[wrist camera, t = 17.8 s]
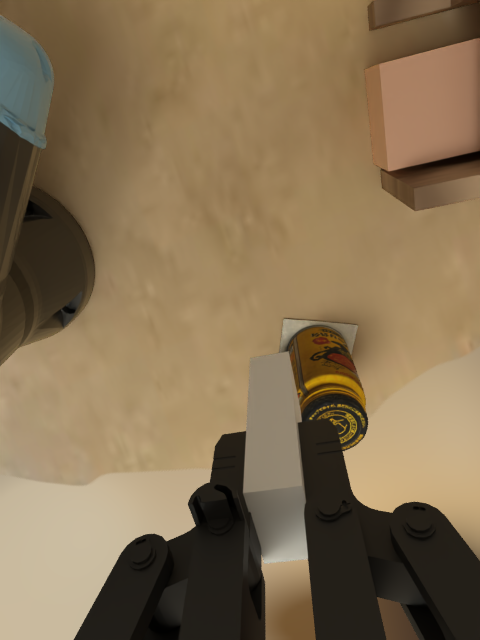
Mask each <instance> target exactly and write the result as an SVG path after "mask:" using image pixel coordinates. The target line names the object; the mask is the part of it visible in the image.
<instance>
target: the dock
mask: <svg viewBox="0 0 480 640" xmlns="http://www.w3.org/2000/svg"><path fill="white" fill-rule="evenodd" d="M478 2H480V0H375V1H373V2H372V3H371V4H370V5H369V6H368V18H369V31H370V30H374V29H378V28H382V27H386V26H390V25H393V24H397V23H401V22H405V21H409V20H413V19H416V18H420V17H424V16H428V15H432V14H436V13H439V12H443V11H447V10H451V9H455V8H459V7H462V6H466V5H470V4H474V3H478ZM381 181H382V188H383V189H384V190H385V191H387V192H388V193H390V194H391V195H393V196H394V197H395V198H397V199H398V200H400V201H401V202H403V203H404V204H406V205H407V206H408V207H410V208H411V209H413V210H414V211H419V210H424V209H429V208H434V207H438V206H443V205H448V204H453V203H458V202H463V201H468V200H473V199H478V198H480V151H476V152H472V153H467V154H463V155H458V156H454V157H450V158H445V159H441V160H436V161H432V162H428V163H423V164H419V165H414V166H410V167H406V168H401V169H397V170H392V171H387V170H385V169H383V170H381Z"/></svg>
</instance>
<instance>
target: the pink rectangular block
mask: <svg viewBox="0 0 480 640" xmlns="http://www.w3.org/2000/svg"><path fill="white" fill-rule="evenodd" d="M364 70H365V80H366V91H367V101H368V111H369V122H370V132H371V143H372V153H373V163H374V164H375V165H377V166H379V167H381V168H383V169H385V170H387V171H392V170H397V169H401V168H406V167H410V166H414V165H419V164H423V163H428V162H432V161H436V160H441V159H445V158H450V157H454V156H458V155H463V154H467V153H472V152H476V151H480V38H476V39H472V40H469V41H465V42H461V43H457V44H453V45H449V46H446V47H442V48H438V49H434V50H430V51H426V52H423V53H419V54H415V55H411V56H407V57H404V58H400V59H396V60H392V61H388V62H384V63H381V64H377V65H375V66H372V67H369V68H367V69H364Z"/></svg>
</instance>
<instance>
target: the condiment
mask: <svg viewBox="0 0 480 640" xmlns="http://www.w3.org/2000/svg"><path fill="white" fill-rule="evenodd" d="M357 328H358V325H352V324H341V323H333V322H321V321H308V320H292V319H284V320H283V328H282V335H281V343H280V350H279V353H282V352H288V351H289V356H290V361H291V366H292V371H293V375H294V380H295V385H296V390H297V395H298V400H299V405H300V410H301V418H302V422H305V421H312V420H319V419H326V418H328V419H329V420H330V421H331V422H332V423H333V424H334V425H335V426H336V427H337V430H338V434H339V438H340V443H341V447H342V451H345V450H347V449H350V448H352V447H354V446H355V445H357V444H358V443H359V442H360V441H361V440H362V439H363V438H364V436H365V434H366V431H367V427H368V418H367V413H366V410H365V405H366V399H365V395H364V391H363V388H362V385H361V382H360V380H359V377H358V374H357V371H356V368H355V366H354V363H353V360H352V357H351V355H352V350H353V346H354V341H355V337H356V332H357Z"/></svg>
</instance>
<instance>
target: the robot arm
mask: <svg viewBox="0 0 480 640" xmlns="http://www.w3.org/2000/svg"><path fill="white" fill-rule="evenodd" d="M53 88H54V72H53V68H52V64H51V62H50V59H49V57H48V55H47V54H46V52H45V50H44V49H43V47H42V46H41V45H40V44H39V43H38V42H37V41H36V40H35V39H34V38H33V37H32V36H31V35H29V34H28V33H27V32H25V31H24V30H23V29H21V28H20V27H18V26H17V25H15V24H14V23H12V22H11V21H9V20H8V19H6V18H5V17H3V16H2V15H0V366H1V365H2V364H3V363H4V362H5V361H6V360H7V359H8V358H9V357H10V356H11V355H12V354H13V353H14V352H15V351H16V350H17V349H18V348H19V347H22V346H25V345H28V344H30V343H33V342H36V341H39V340H42V339H45V338H48V337H50V336H52V335H54V334H56V333H58V332H60V331H61V330H63V329H64V328H65V327H67V326H68V325H69V324H70V323H71V322H72V321H73V320H74V319H75V318H76V317H77V316H78V315H79V313H80V312H81V311H82V310H83V309H84V307H85V306H86V304H87V302H88V300H89V298H90V296H91V293H92V289H93V285H94V262H93V256H92V253H91V249H90V246H89V244H88V241H87V239H86V237H85V235H84V233H83V231H82V230H81V228H80V226H79V225H78V223H77V222H76V221H75V219H74V218H73V217H72V216H71V215H70V213H69V212H68V211H67V210H66V209H65V208H64V207H63V206H62V205H61V204H59V203H58V202H57V201H56V200H55V199H53V198H52V197H50V196H49V195H48V194H46V193H44V192H43V191H41V190H39V189H37V188H35V187H33V186H32V185H33V181H34V177H35V174H36V170H37V166H38V162H39V158H40V154H41V150H42V149H45V148H46V145H47V139H46V137H45V135H44V134H45V129H46V124H47V118H48V113H49V108H50V103H51V98H52V93H53ZM213 459H214V461H213V465H212V472H211V479H210V483H206V484H204V485H203V486H201V487H200V488H198V489H197V490H196V491H195V492H194V493H193V494H192V496H191V498H190V500H189V502H188V506H189V509H190V511H191V514H192V516H193V519H194V522H195V524H196V526H195V527H194V528H193V529H192V530H190V531H189V532H187V533H185V534H183V535H181V536H178V537H176V538H174V539H171V540H169V541H165V540H164V538H163V537H162V536H159V535H156V534H146V535H143V536H141V537H138V538H136V539H135V540H133V541H132V542H131V543H130V544H128V545H127V546H126V548H125V549H124V550H123V552H122V553H121V555H120V556H119V558H118V560H117V562H116V564H115V566H114V567H113V569H112V571H111V573H110V575H109V576H108V578H107V580H106V582H105V584H104V586H103V587H102V589H101V591H100V593H99V595H98V597H97V598H96V600H95V602H94V604H93V606H92V608H91V609H90V611H89V613H88V615H87V617H86V618H85V620H84V622H83V624H82V626H81V627H80V629H79V631H78V633H77V635H76V637H75V638H74V640H265V581H264V577H263V573H262V570H261V554H262V557H263V560H264V563H274V562H284V561H294V560H304V559H308V561H309V573H310V583H311V594H312V604H313V614H314V624H315V634H316V640H386V636H385V631H384V627H383V622H382V619H381V614H380V610H379V605H378V600H377V597H380V598H384V599H387V600H391V601H395V602H399V603H400V604H401V606H402V608H403V610H404V612H405V613H406V615H407V617H408V619H409V621H410V623H411V625H412V627H413V629H414V631H415V632H416V634H417V636H418V638H419V640H480V561H479V560H478V558H477V557H476V555H475V554H474V553H473V552H472V550H471V549H470V548H469V546H468V545H467V544H466V542H465V541H464V540H463V538H462V537H461V536H460V535H459V533H458V532H457V531H456V529H455V528H454V527H453V525H452V524H451V523H450V522H449V520H448V519H447V518H446V516H445V515H444V514H442V513H441V512H440V511H439V510H438V509H437V508H435V507H433V506H431V505H429V504H426V503H420V502H410V503H404V504H402V505H401V506H399V507H397V508H396V509H395V510H394V511H393V513H389V512H383V511H378V510H375V509H371V508H369V507H367V506H365V505H363V504H362V503H361V502H359V501H358V500H357V499H356V497H355V496H354V495H353V492H352V490H351V487H350V482H349V478H348V473H347V469H346V465H345V461H344V456H343V452H342V447H341V443H340V438H339V434H338V430H337V427H336V426H335V425H334V424H333V423H332V422H331V421H330V420H329V419H328V418H326V419H319V420H312V421H305V422H302V418H301V410H300V405H299V400H298V395H297V390H296V385H295V380H294V375H293V371H292V366H291V361H290V356H289V351H288V352H282V353H277V354H271V355H265V356H259V357H253V358H250V370H249V389H248V408H247V427H246V431H244V432H237V433H231V434H224V435H222V436H221V438H220V440H219V441H218V443H217V444H216V446H215V451H214V458H213Z"/></svg>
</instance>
